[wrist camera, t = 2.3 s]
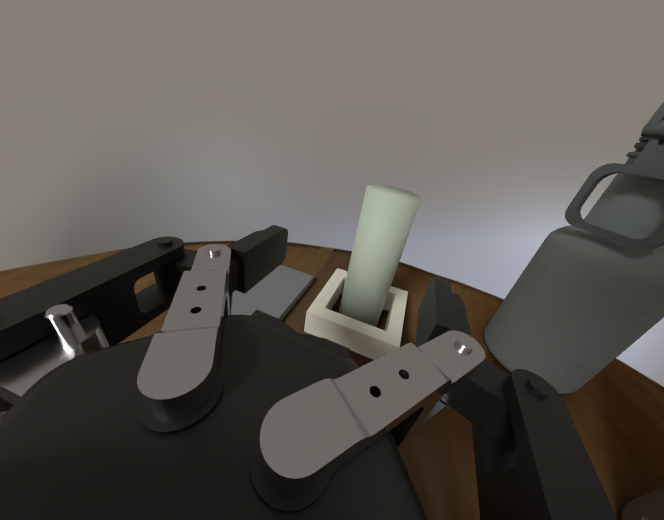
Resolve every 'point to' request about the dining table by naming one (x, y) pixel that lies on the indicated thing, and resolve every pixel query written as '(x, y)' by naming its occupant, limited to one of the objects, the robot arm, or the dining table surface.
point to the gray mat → (273, 293)
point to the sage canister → (377, 250)
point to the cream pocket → (356, 321)
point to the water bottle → (591, 276)
